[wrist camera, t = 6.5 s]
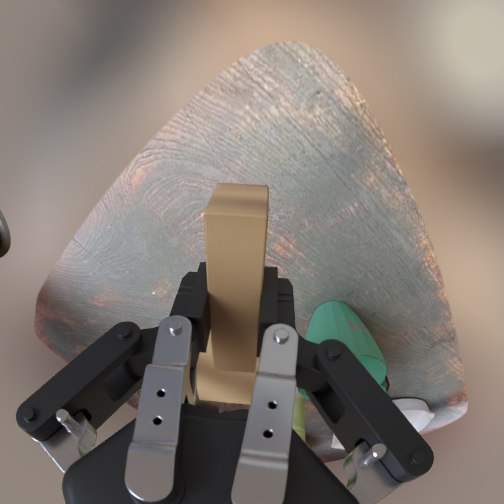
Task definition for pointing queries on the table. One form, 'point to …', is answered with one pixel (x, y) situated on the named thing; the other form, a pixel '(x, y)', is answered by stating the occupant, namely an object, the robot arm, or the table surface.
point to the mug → (347, 338)
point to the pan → (406, 415)
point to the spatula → (233, 290)
